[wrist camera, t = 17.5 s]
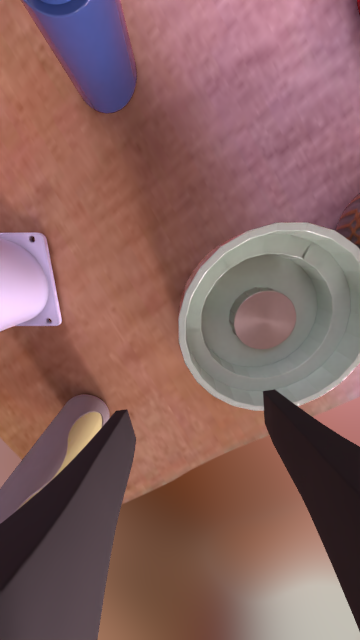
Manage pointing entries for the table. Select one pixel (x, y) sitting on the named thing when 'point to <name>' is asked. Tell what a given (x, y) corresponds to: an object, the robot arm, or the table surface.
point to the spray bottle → (53, 451)
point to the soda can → (359, 4)
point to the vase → (351, 222)
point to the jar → (90, 48)
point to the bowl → (304, 292)
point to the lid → (262, 318)
